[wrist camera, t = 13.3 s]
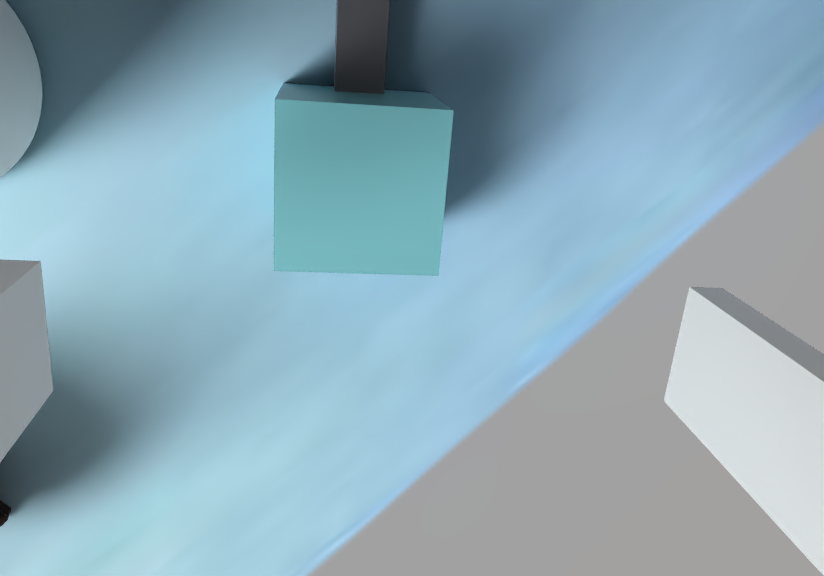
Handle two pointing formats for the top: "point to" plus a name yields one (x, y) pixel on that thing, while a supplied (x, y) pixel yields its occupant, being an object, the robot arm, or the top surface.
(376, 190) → the teal and grey bar
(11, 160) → the pill bottle
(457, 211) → the top surface
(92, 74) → the top surface
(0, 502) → the mate gourd
